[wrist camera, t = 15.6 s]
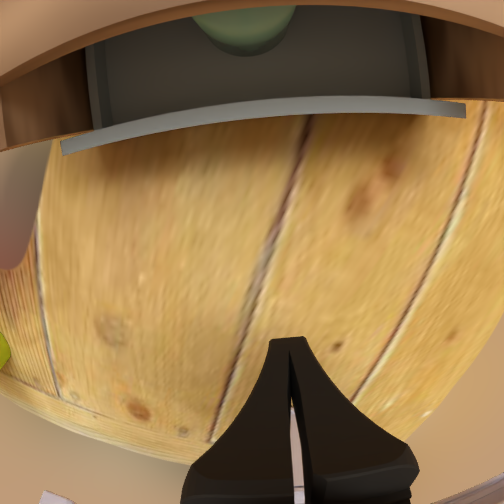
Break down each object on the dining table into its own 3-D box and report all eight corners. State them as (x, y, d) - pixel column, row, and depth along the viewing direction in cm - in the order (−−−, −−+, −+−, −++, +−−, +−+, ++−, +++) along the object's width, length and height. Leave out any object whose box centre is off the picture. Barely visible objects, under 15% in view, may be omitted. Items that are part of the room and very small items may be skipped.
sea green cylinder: (271, 68, 16) (278, 42, 9) (191, 43, 15) (153, 10, 9) (300, 0, 14) (321, -52, 7) (221, -23, 13) (202, -81, 7)
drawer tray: (423, 114, 17) (466, 118, 12) (103, 144, 18) (62, 155, 14) (400, -32, 13) (432, -59, 8) (90, -1, 14) (52, -22, 9)
